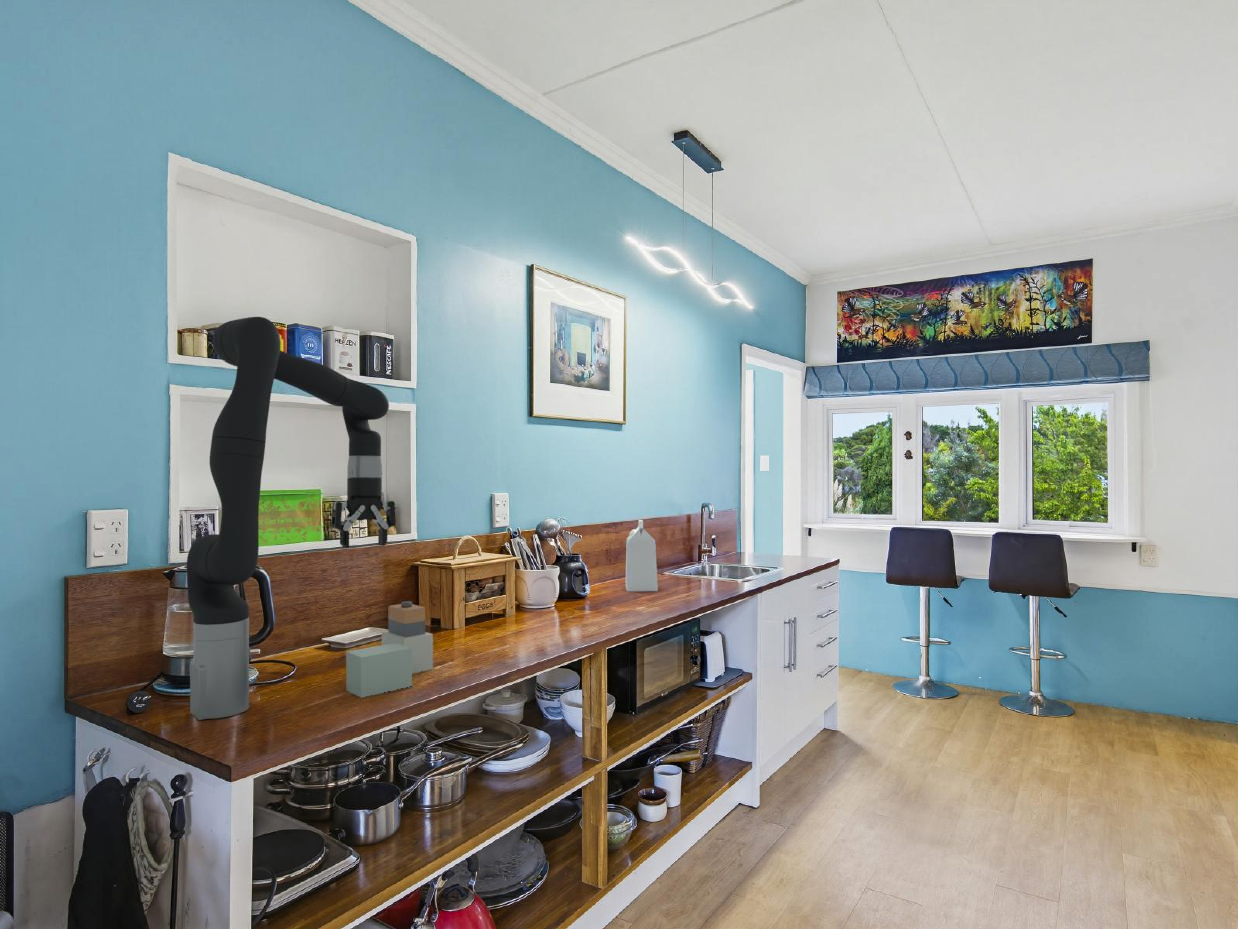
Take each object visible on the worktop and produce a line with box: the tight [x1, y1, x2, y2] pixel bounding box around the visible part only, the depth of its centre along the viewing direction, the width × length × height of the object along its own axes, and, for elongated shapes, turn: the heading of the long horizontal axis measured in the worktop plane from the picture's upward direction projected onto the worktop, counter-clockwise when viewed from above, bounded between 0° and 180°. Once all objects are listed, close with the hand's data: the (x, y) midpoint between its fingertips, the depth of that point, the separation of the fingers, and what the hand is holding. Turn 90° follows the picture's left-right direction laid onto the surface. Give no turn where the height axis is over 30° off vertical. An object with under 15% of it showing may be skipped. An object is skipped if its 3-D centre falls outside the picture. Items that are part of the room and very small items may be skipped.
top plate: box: [387, 600, 426, 624], centre depth 170 cm, size 8×5×4 cm, turn 43°
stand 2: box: [381, 630, 434, 675], centre depth 170 cm, size 7×11×8 cm, turn 44°
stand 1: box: [345, 643, 413, 699], centre depth 154 cm, size 11×7×8 cm, turn 134°
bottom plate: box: [387, 618, 426, 637], centre depth 170 cm, size 8×5×3 cm, turn 44°
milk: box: [624, 519, 659, 592], centre depth 283 cm, size 12×12×26 cm
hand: (363, 546), depth 170 cm, fingers open, 8 cm apart
